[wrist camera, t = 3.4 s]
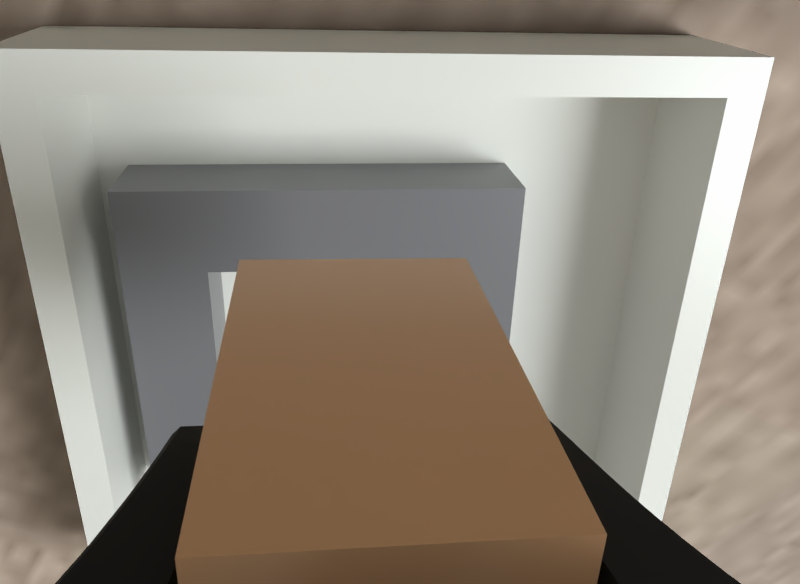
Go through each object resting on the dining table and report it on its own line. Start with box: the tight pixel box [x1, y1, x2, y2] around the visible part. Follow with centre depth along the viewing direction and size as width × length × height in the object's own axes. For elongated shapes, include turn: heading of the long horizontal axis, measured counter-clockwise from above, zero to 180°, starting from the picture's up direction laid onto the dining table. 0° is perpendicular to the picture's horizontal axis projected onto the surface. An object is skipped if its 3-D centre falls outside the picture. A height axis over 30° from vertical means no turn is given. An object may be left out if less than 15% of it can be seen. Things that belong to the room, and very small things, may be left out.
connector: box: [175, 258, 607, 584], centre depth 9 cm, size 4×4×8 cm
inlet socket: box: [107, 163, 526, 466], centre depth 19 cm, size 9×9×2 cm
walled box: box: [0, 26, 774, 546], centre depth 19 cm, size 15×15×4 cm
